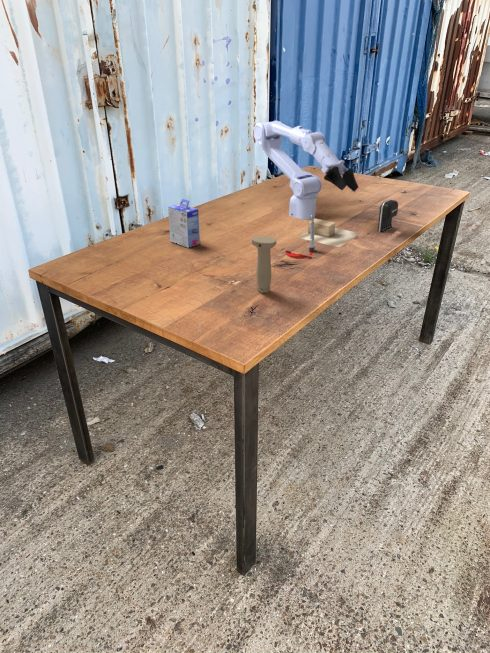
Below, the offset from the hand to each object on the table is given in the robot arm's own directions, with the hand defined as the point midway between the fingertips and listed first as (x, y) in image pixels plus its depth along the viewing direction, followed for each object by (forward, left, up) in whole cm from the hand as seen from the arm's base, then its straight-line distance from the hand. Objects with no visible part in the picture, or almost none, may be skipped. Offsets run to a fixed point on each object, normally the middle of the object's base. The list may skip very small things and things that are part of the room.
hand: (350, 188), depth 168 cm
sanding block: (-6, -7, -15) cm, 17 cm away
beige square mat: (-3, -7, -16) cm, 18 cm away
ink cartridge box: (-41, -38, -16) cm, 58 cm away
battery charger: (+11, +9, -16) cm, 22 cm away
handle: (+2, -53, -16) cm, 55 cm away
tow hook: (-4, -24, -16) cm, 29 cm away
